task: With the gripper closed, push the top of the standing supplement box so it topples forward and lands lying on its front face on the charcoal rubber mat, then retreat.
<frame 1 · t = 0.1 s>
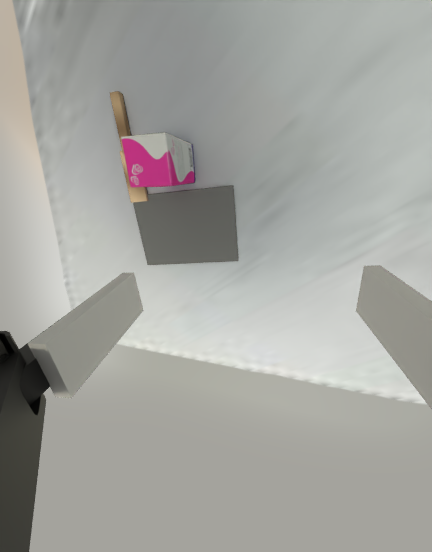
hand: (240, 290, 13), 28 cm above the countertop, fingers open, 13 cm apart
supplement box: (177, 165, 37), on the countertop
mat: (186, 228, 41), on the countertop
turner: (131, 157, 37), on the countertop, touching mat
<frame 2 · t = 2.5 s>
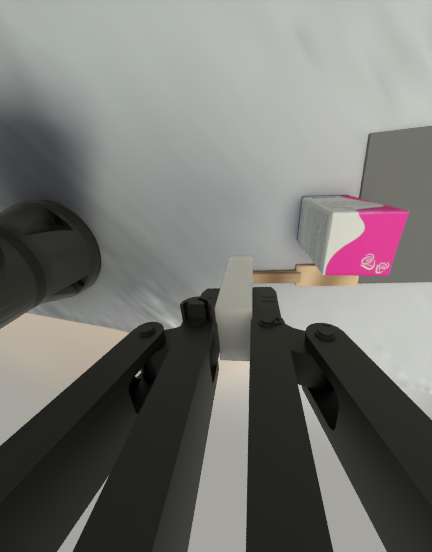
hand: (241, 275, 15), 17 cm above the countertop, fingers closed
supplement box: (321, 219, 29), on the countertop
mat: (415, 213, 27), on the countertop
turner: (302, 274, 32), on the countertop, touching mat
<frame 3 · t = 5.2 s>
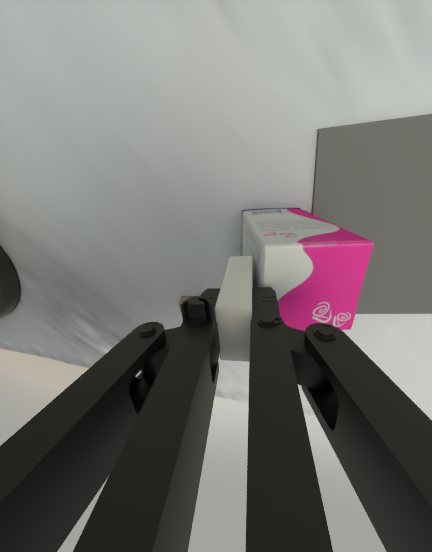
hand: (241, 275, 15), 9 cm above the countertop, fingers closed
supplement box: (269, 237, 23), on the countertop
mat: (382, 231, 21), on the countertop
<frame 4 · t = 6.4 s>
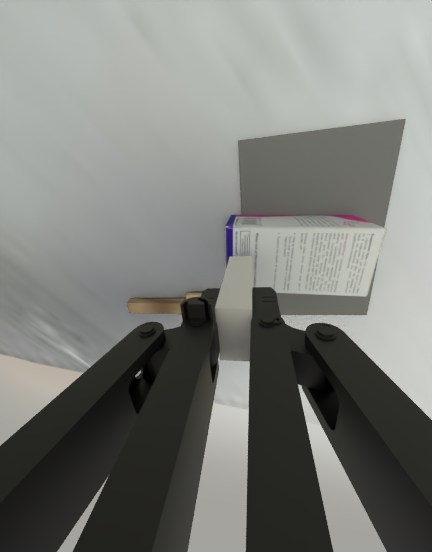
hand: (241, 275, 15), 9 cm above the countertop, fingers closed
supplement box: (226, 251, 21), point 3 cm above the countertop, touching mat
mat: (308, 236, 22), on the countertop
turner: (196, 303, 27), on the countertop, touching mat
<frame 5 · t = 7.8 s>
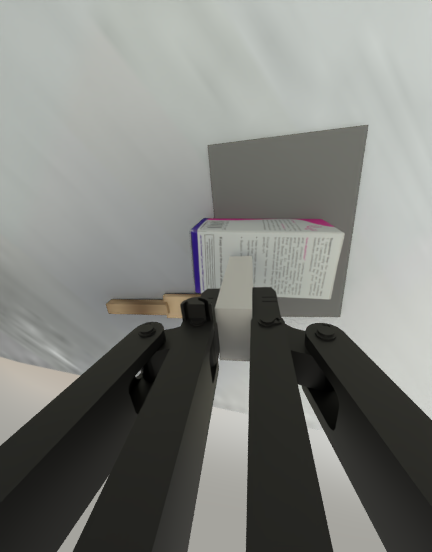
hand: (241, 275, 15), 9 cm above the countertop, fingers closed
supplement box: (197, 253, 21), point 3 cm above the countertop, touching mat
mat: (280, 239, 23), on the countertop
turner: (174, 304, 28), on the countertop, touching mat
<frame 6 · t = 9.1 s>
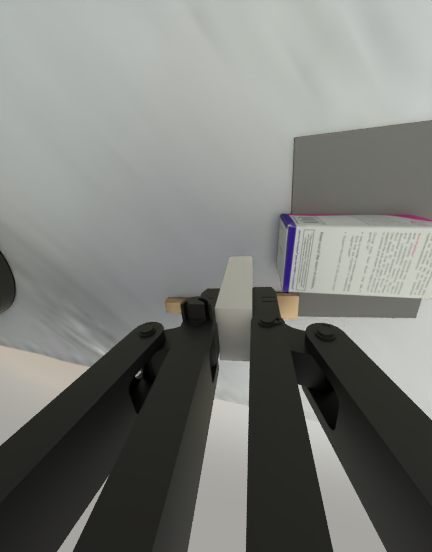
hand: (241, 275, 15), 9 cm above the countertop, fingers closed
supplement box: (278, 250, 20), point 3 cm above the countertop, touching mat
mat: (360, 236, 22), on the countertop
turner: (235, 303, 27), on the countertop, touching mat
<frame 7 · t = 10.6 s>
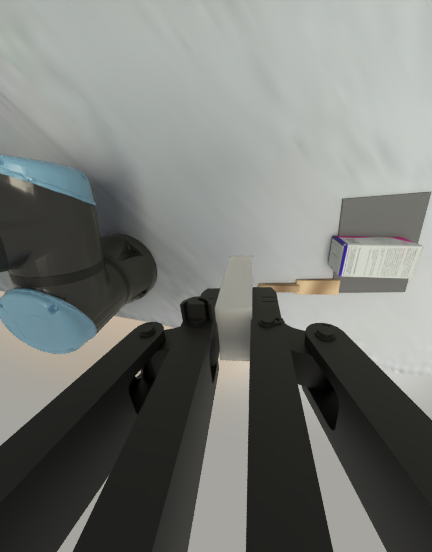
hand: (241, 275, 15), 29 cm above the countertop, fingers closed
supplement box: (333, 255, 40), point 3 cm above the countertop, touching mat
mat: (374, 247, 41), on the countertop
turner: (301, 286, 46), on the countertop, touching mat
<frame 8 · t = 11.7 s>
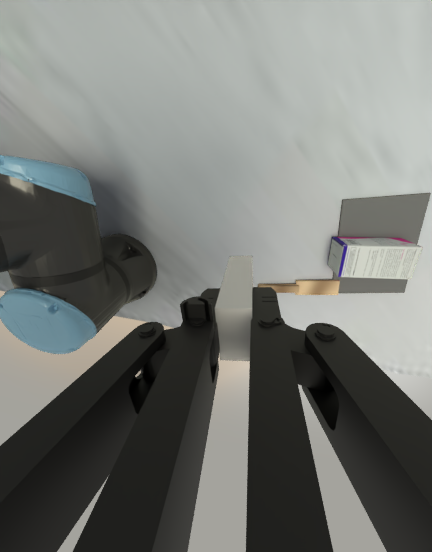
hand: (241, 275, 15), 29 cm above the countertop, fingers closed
supplement box: (333, 256, 40), point 3 cm above the countertop, touching mat
mat: (374, 248, 41), on the countertop
turner: (300, 286, 46), on the countertop, touching mat
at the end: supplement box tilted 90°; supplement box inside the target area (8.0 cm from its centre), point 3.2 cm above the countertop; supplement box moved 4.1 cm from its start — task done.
